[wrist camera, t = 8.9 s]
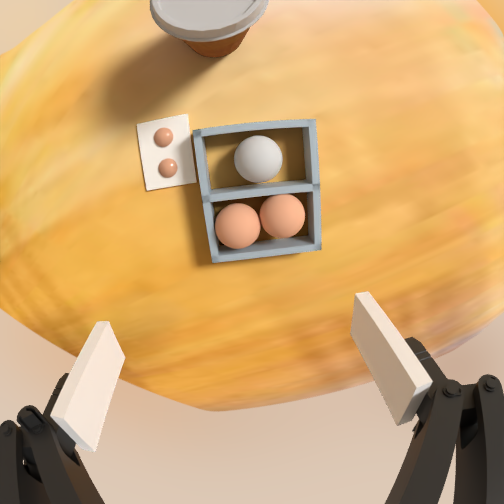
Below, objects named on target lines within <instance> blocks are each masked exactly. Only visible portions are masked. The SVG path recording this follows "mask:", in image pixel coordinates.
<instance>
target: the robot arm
mask: <svg viewBox="0 0 504 504" xmlns="http://www.w3.org/2000/svg"><path fill="white" fill-rule="evenodd" d="M350 334H351V336H352V338H353V340H354V342H355V344H356V345H357V347H358V349H359V351H360V353H361V355H362V357H363V359H364V361H365V363H366V364H367V366H368V368H369V370H370V372H371V374H372V376H373V378H374V380H375V382H376V384H377V386H378V388H379V390H380V392H381V394H382V396H383V398H384V400H385V402H386V404H387V406H388V408H389V410H390V412H391V414H392V416H393V419H394V421H395V423H396V425H397V426H399V425H401V424H404V423H407V422H409V421H411V420H412V419H413V418H414V416H415V414H417V416H418V417H419V420H418V422H417V424H416V426H415V427H414V429H413V431H415V432H414V435H413V438H412V441H411V443H410V446H409V449H408V452H407V455H406V457H405V460H404V462H403V464H402V467H401V469H400V472H399V474H398V476H397V479H396V481H395V483H394V486H393V488H392V490H391V492H390V494H389V496H388V498H387V500H386V503H385V504H438V501H439V498H440V495H441V493H442V490H443V487H444V484H445V481H446V477H447V474H448V471H449V467H450V464H451V460H452V456H453V452H454V448H455V444H456V475H455V492H454V502H453V504H504V394H503V390H502V386H501V383H500V381H499V380H498V379H497V378H496V377H495V376H493V375H488V374H487V375H483V376H482V377H481V378H480V379H479V381H478V382H477V383H476V384H469V385H461V384H460V383H459V382H457V381H455V380H449V379H447V378H446V376H445V375H444V374H443V372H442V371H441V370H440V368H439V367H438V365H437V364H436V362H435V361H434V360H433V358H432V357H431V356H430V354H429V353H428V351H426V349H425V347H424V346H423V345H422V343H421V342H419V341H418V340H416V339H415V338H413V337H410V338H407V339H403V337H402V336H401V335H400V333H399V332H398V330H397V329H396V328H395V326H394V325H393V324H392V322H391V321H390V319H389V318H388V317H387V315H386V314H385V313H384V311H383V310H382V309H381V307H380V306H379V305H378V303H377V302H376V301H375V300H374V298H373V297H372V296H371V294H370V293H369V292H368V291H367V292H361V293H356V294H355V300H354V309H353V317H352V325H351V332H350ZM124 360H125V356H124V354H123V352H122V350H121V348H120V346H119V344H118V341H117V339H116V337H115V335H114V333H113V330H112V328H111V326H110V323H109V321H98V322H97V323H96V324H95V326H94V328H93V330H92V332H91V333H90V335H89V337H88V339H87V341H86V342H85V344H84V346H83V348H82V350H81V352H80V354H79V356H78V358H77V360H76V362H75V363H74V365H73V367H72V369H71V371H70V373H65V374H64V375H63V376H62V378H60V379H59V381H58V383H57V385H56V387H55V388H56V389H54V391H53V393H52V394H53V395H51V398H50V400H49V402H48V404H47V406H46V408H45V411H44V413H43V415H42V414H41V413H40V412H39V410H38V409H37V408H36V407H34V406H31V405H29V406H25V407H24V408H22V409H21V410H20V412H19V413H18V415H17V422H18V423H19V424H20V425H21V427H18V426H17V425H16V424H15V423H14V422H13V421H11V420H7V421H4V422H3V423H2V424H1V426H0V504H105V503H104V501H103V500H102V498H101V496H100V495H99V493H98V491H97V489H96V488H95V486H94V484H93V482H92V480H91V478H90V477H89V475H88V473H87V471H86V469H85V467H84V465H83V463H82V461H81V459H80V456H79V454H78V452H77V451H76V450H75V444H77V445H78V446H79V447H80V448H81V449H83V450H88V451H92V452H96V448H97V445H98V441H99V437H100V433H101V430H102V427H103V423H104V420H105V417H106V413H107V411H108V407H109V404H110V401H111V398H112V395H113V392H114V389H115V386H116V382H117V380H118V377H119V374H120V371H121V368H122V366H123V363H124ZM23 460H24V465H23Z"/></svg>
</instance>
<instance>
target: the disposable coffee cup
mask: <svg viewBox="0 0 504 504" xmlns="http://www.w3.org/2000/svg"><path fill="white" fill-rule="evenodd" d="M268 2H269V0H150V11H151V14H152V17H153V19H154V21H155V22H156V24H157V25H158V26H159V27H160V28H161V29H162V30H164V31H165V32H166V33H168V34H170V35H172V36H174V37H176V38H179V39H181V40H183V41H184V42H185V43H186V44H187V45H189V46H190V47H191V48H192V49H193V50H194V51H195V52H197V53H198V54H200V55H203V56H207V57H221V56H225V55H227V54H230V53H231V52H233V51H234V50H236V49H237V48H238V47H239V45H240V44H241V42H242V40H243V38H244V37H245V35H246V33H247V32H248V30H249V28H250V27H251V26H252V25H254V24H255V23H256V22H257V21H258V20H259V18H260V17H261V16H262V15H263V14H264V12H265V10H266V8H267V5H268Z"/></svg>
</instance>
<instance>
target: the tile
mask: <svg viewBox="0 0 504 504" xmlns="http://www.w3.org/2000/svg"><path fill="white" fill-rule="evenodd" d="M137 131H138V138H139V146H140V152H141V159H142V165H143V171H144V177H145V183H146V188H147V191H148V190H153V189H159V188H165V187H171V186H177V185H183V184H190V183H196V182H197V179H196V172H195V165H194V158H193V150H192V143H191V135H190V127H189V119H188V114H183V115H177V116H172V117H167V118H162V119H157V120H153V121H148V122H144V123H140V124H137Z"/></svg>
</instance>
